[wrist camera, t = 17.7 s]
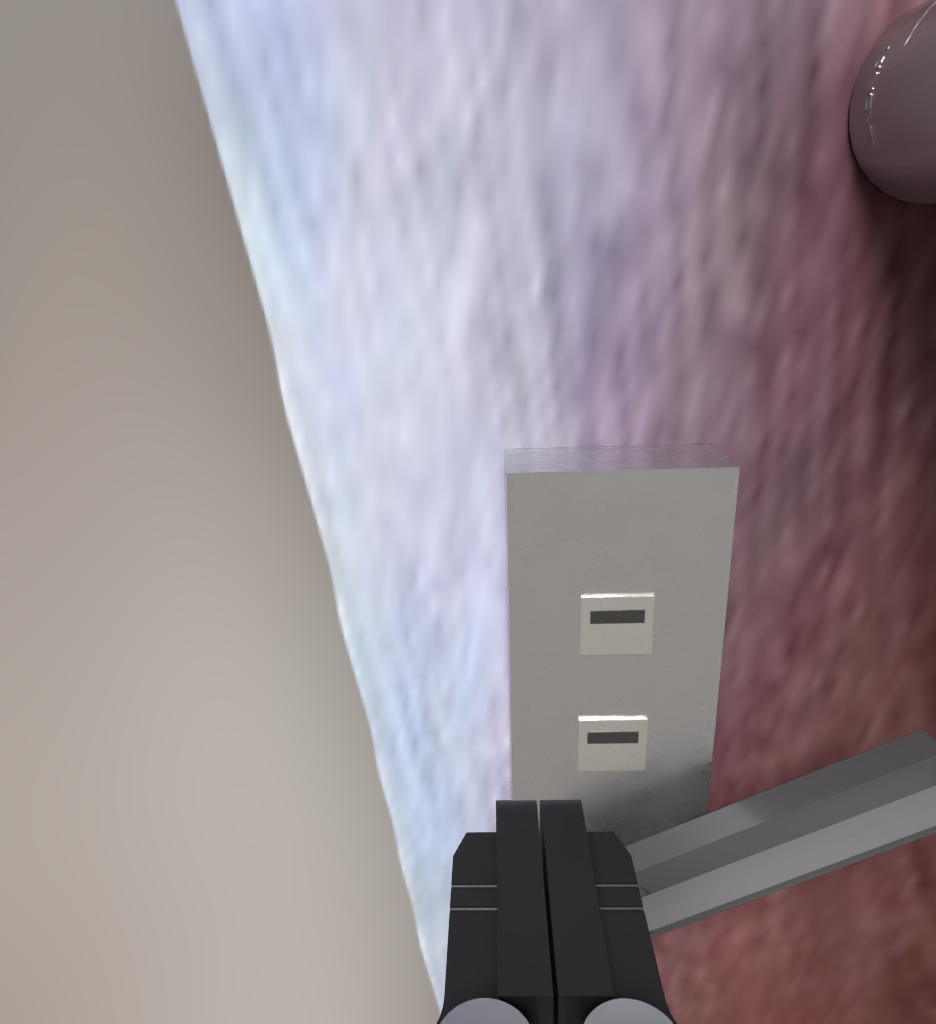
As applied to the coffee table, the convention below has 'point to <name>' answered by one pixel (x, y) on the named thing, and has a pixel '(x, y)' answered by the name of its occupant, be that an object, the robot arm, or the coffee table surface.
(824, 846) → the bar
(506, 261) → the coffee table surface
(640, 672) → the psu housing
